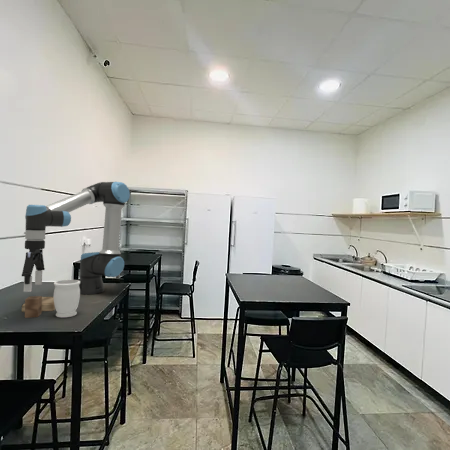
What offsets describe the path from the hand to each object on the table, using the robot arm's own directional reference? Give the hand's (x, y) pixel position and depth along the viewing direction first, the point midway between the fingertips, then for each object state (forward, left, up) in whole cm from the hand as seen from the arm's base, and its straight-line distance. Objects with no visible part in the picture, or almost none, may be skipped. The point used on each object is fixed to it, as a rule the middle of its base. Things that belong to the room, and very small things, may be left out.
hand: (33, 288), depth 134 cm
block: (0, 0, -12) cm, 12 cm away
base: (0, -13, -12) cm, 18 cm away
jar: (-14, +1, -13) cm, 19 cm away
